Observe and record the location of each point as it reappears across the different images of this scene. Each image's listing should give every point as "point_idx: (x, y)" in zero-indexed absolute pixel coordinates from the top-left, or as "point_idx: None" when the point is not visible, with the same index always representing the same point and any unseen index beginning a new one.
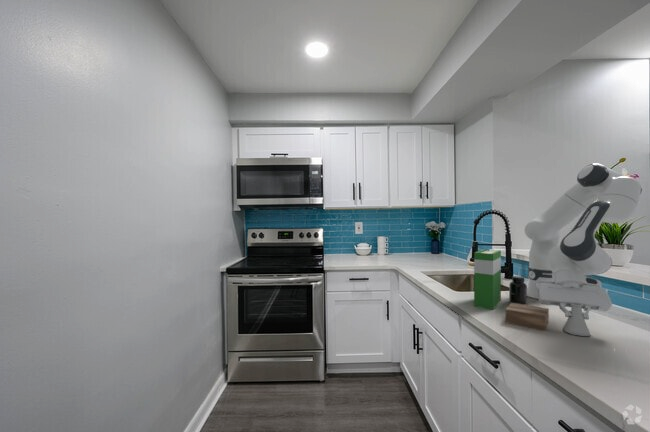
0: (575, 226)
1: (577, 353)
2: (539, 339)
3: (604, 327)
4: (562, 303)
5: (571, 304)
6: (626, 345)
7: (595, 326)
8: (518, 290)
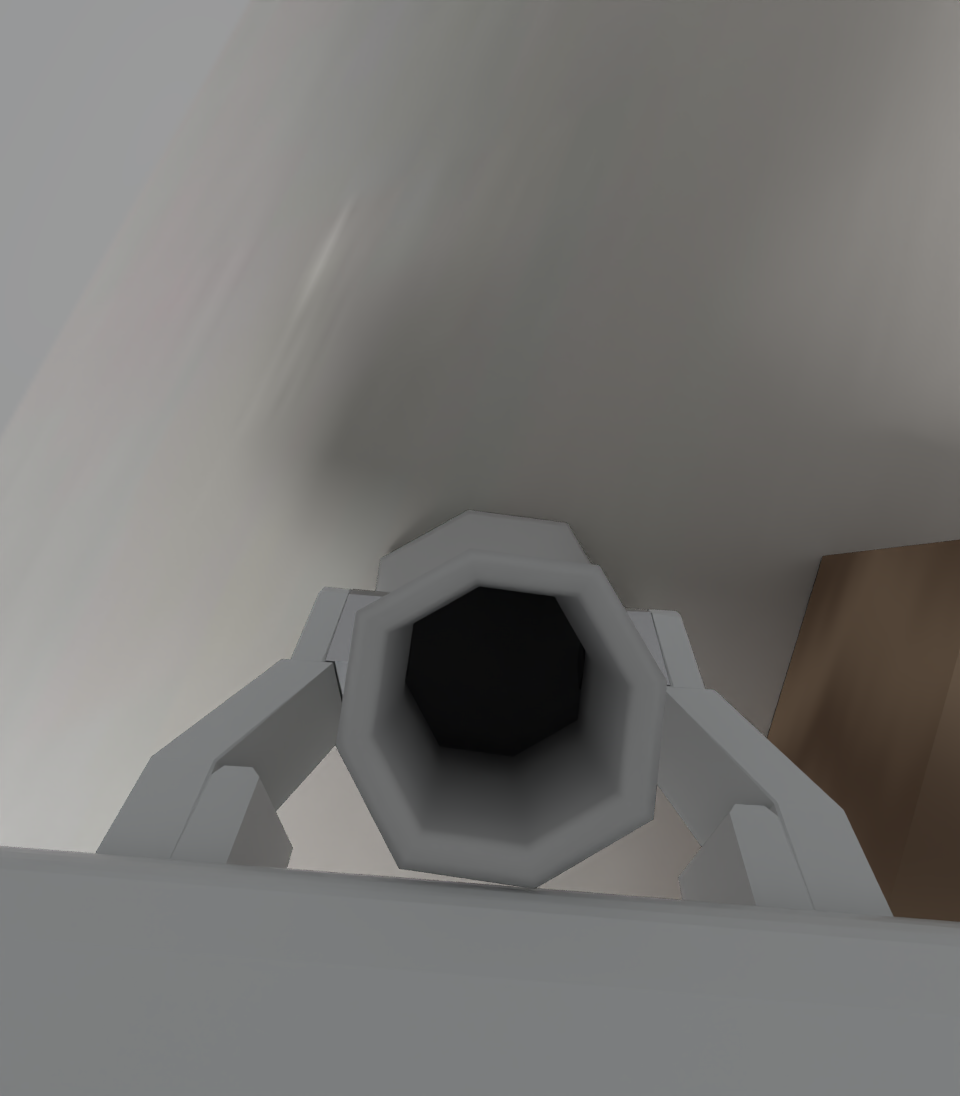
0: None
1: (686, 31)
2: (938, 250)
3: None
4: (820, 885)
5: (654, 670)
6: (147, 422)
7: None
8: None
